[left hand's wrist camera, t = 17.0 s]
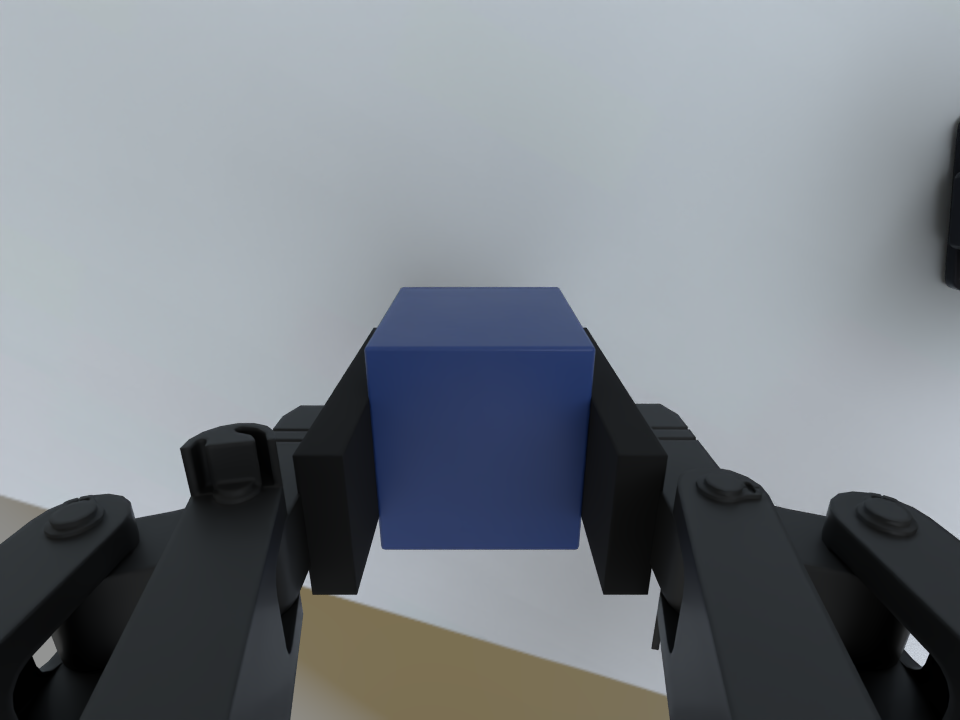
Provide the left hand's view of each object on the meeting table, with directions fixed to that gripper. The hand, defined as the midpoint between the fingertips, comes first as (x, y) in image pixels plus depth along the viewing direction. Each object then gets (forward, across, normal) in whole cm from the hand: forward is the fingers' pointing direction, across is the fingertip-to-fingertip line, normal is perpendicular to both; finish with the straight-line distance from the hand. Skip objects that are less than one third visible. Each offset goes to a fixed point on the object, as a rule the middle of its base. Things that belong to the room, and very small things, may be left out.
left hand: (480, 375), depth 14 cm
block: (0, 0, 0) cm, 0 cm away
